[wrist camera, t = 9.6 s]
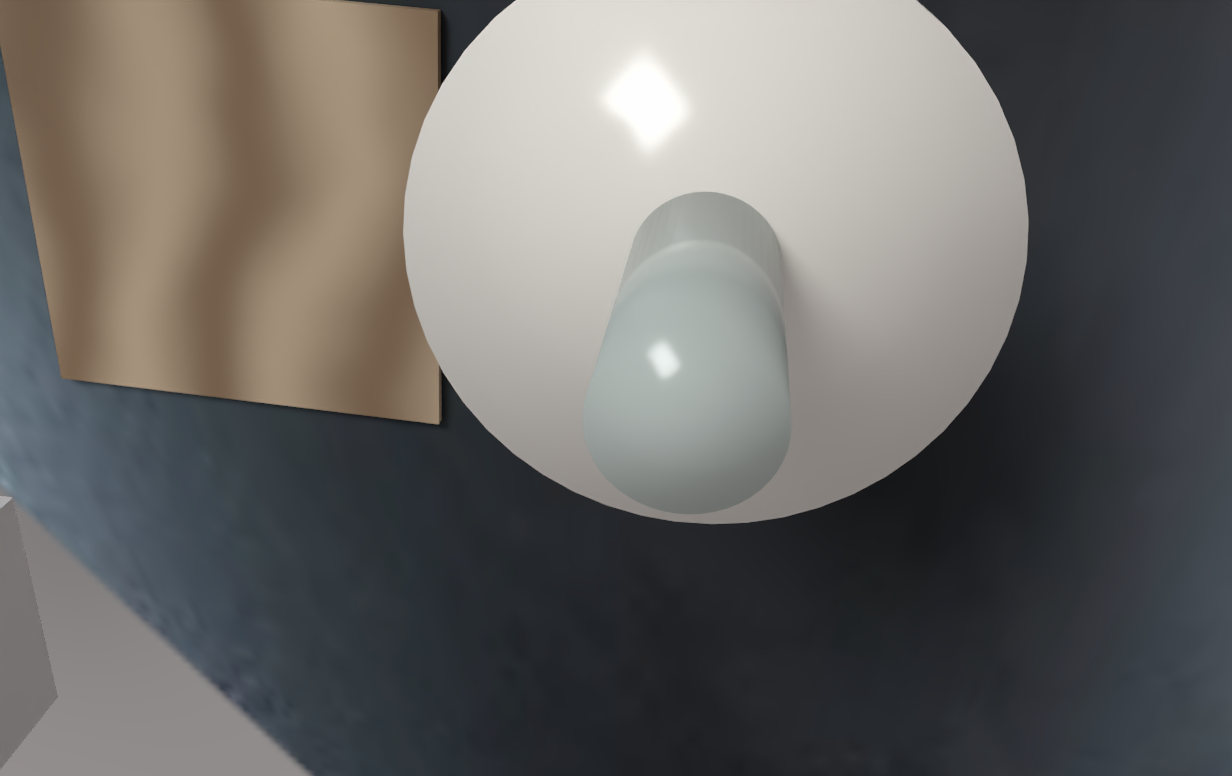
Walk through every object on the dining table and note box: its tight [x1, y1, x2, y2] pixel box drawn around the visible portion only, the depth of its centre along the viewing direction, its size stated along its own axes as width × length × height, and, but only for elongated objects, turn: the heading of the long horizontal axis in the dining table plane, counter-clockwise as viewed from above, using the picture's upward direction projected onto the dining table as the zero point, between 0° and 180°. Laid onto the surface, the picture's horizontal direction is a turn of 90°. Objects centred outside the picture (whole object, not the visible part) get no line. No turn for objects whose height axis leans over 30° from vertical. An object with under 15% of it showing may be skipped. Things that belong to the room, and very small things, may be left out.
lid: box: [403, 0, 1028, 524], centre depth 20 cm, size 13×13×8 cm
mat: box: [0, 0, 442, 424], centre depth 41 cm, size 16×16×1 cm
